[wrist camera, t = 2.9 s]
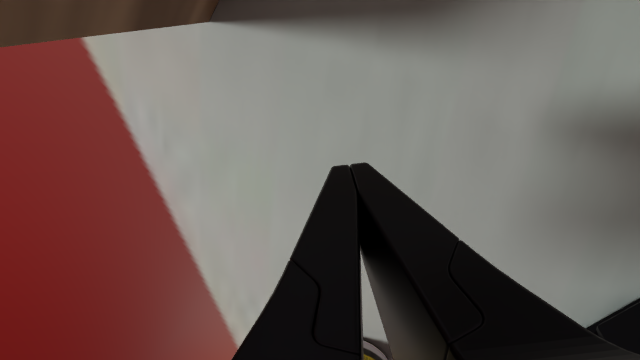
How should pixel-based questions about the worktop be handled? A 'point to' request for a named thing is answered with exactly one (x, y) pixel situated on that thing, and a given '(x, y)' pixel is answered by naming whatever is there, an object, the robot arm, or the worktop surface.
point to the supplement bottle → (372, 352)
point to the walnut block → (93, 17)
